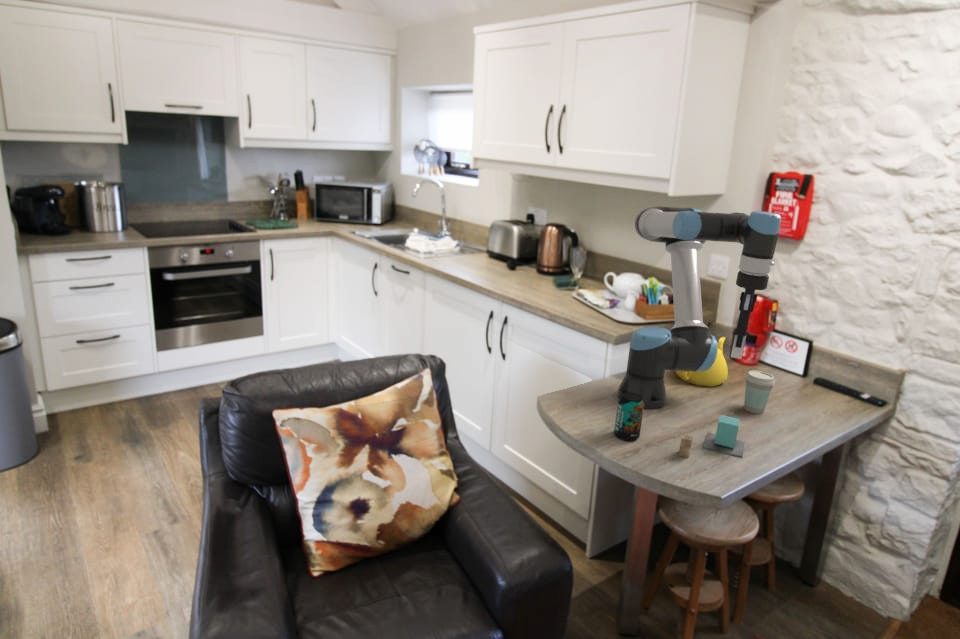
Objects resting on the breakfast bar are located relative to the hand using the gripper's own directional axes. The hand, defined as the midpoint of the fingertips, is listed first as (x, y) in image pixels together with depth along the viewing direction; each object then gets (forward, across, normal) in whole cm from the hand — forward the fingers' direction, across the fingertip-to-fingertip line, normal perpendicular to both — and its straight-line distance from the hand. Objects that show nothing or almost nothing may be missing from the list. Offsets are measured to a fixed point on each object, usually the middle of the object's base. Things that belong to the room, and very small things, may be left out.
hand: (736, 357), depth 169 cm
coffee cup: (+26, +29, -8) cm, 39 cm away
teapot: (+26, +49, +11) cm, 56 cm away
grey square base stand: (+25, -3, -2) cm, 25 cm away
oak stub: (+25, -15, +7) cm, 30 cm away
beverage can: (+25, -13, +23) cm, 37 cm away
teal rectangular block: (+24, -3, -2) cm, 24 cm away
